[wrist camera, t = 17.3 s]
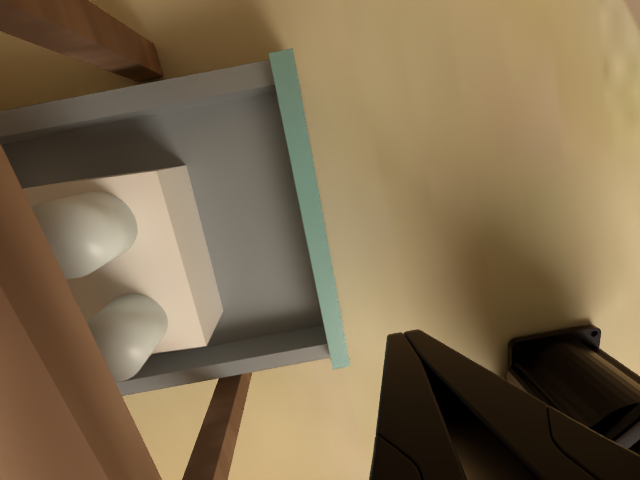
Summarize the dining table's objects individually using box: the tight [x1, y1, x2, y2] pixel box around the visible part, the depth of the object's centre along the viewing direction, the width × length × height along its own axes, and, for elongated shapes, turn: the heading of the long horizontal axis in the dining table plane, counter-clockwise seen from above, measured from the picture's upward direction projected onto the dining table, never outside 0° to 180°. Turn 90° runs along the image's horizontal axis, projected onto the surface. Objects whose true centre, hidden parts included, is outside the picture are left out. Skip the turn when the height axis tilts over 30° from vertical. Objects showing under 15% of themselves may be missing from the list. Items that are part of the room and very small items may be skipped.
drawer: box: [0, 48, 350, 396], centre depth 17 cm, size 18×16×4 cm
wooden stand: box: [0, 0, 252, 480], centre depth 13 cm, size 12×21×12 cm, turn 10°
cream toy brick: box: [23, 165, 223, 382], centre depth 15 cm, size 6×9×6 cm, turn 7°
